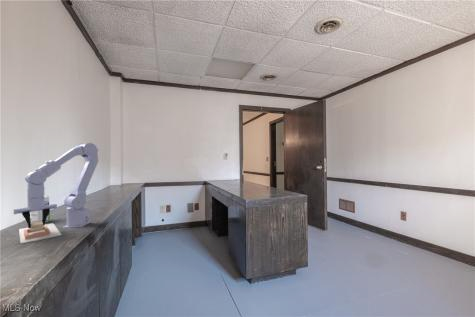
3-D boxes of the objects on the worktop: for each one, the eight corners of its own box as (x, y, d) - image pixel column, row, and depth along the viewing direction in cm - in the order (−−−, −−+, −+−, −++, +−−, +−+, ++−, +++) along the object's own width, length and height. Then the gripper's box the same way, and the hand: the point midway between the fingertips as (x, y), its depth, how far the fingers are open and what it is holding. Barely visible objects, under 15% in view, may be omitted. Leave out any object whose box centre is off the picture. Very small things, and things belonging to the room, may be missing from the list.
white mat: (53, 223, 115) (53, 223, 115) (61, 235, 97) (61, 234, 97) (18, 229, 105) (18, 229, 105) (20, 244, 87) (20, 243, 87)
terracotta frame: (24, 233, 99) (23, 229, 99) (46, 228, 105) (46, 225, 105) (25, 239, 91) (25, 236, 91) (49, 234, 97) (49, 231, 97)
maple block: (43, 230, 97) (43, 223, 97) (31, 232, 94) (31, 225, 94) (41, 226, 103) (41, 220, 102) (29, 228, 100) (29, 221, 100)
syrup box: (37, 224, 113) (36, 197, 113) (30, 223, 115) (30, 197, 115) (49, 221, 118) (49, 195, 118) (43, 220, 120) (43, 195, 120)
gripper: (55, 194, 106) (55, 221, 106) (13, 198, 96) (13, 228, 96) (57, 195, 101) (57, 224, 101) (13, 200, 91) (13, 232, 91)
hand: (36, 226), depth 98 cm, fingers closed on maple block, 4 cm apart
